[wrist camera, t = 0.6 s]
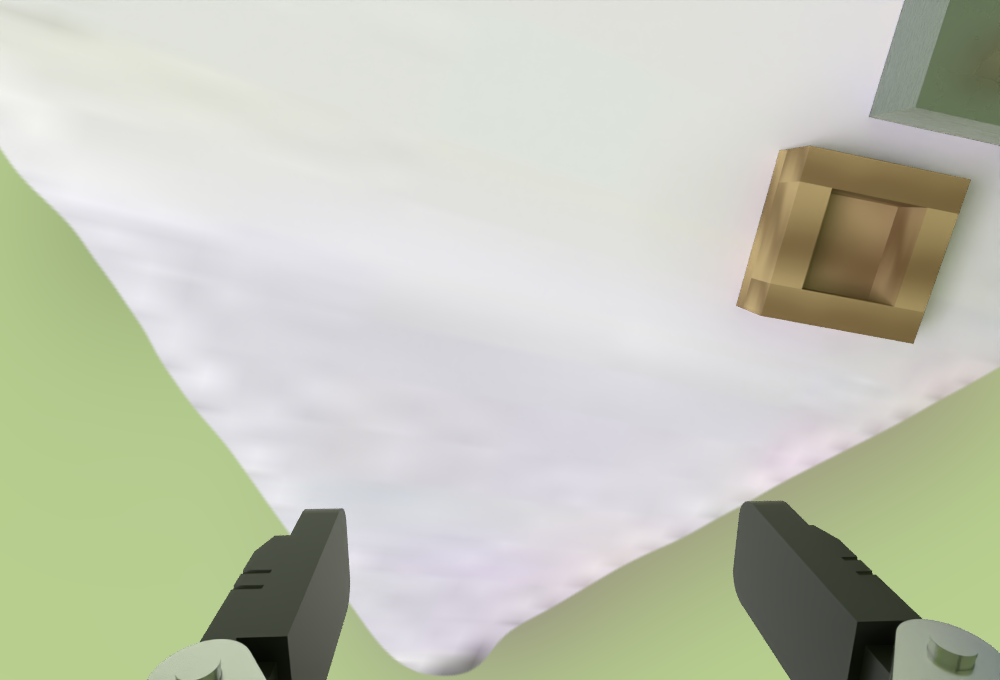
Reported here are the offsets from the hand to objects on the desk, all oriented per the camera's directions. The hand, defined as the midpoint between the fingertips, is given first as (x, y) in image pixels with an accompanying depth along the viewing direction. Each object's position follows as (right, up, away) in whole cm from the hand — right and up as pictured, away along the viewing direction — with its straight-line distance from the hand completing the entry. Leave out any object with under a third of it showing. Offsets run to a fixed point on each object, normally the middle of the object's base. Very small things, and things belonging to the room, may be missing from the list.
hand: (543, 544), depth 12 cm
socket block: (+21, +10, +27) cm, 35 cm away
